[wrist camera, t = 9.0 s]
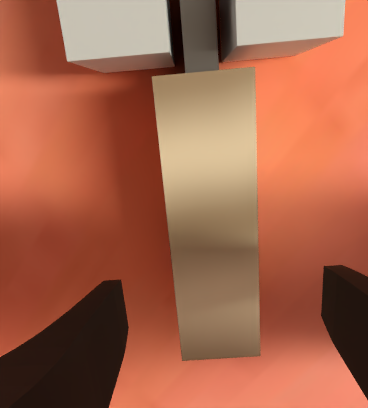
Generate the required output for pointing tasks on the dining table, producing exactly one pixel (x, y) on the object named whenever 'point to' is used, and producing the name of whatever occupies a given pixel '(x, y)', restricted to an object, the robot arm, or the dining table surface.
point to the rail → (210, 193)
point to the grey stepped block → (163, 40)
